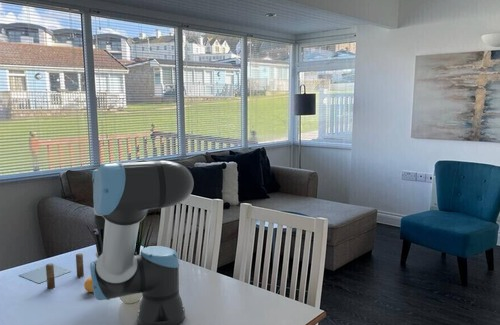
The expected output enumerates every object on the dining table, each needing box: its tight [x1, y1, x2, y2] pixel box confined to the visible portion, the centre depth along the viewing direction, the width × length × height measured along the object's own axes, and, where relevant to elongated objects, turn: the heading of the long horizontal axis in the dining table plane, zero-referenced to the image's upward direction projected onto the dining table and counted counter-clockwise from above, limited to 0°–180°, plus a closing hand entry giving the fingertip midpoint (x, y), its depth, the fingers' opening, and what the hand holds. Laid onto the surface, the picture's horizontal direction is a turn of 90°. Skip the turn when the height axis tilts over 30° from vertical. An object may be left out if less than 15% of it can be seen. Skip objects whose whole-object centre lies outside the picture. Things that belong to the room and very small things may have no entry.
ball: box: [83, 276, 94, 293], centre depth 151 cm, size 6×6×6 cm
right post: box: [75, 253, 85, 278], centre depth 164 cm, size 3×3×9 cm
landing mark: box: [18, 264, 72, 284], centre depth 167 cm, size 14×14×1 cm
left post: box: [45, 262, 56, 290], centre depth 154 cm, size 3×3×9 cm
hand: (108, 276), depth 146 cm, fingers closed
